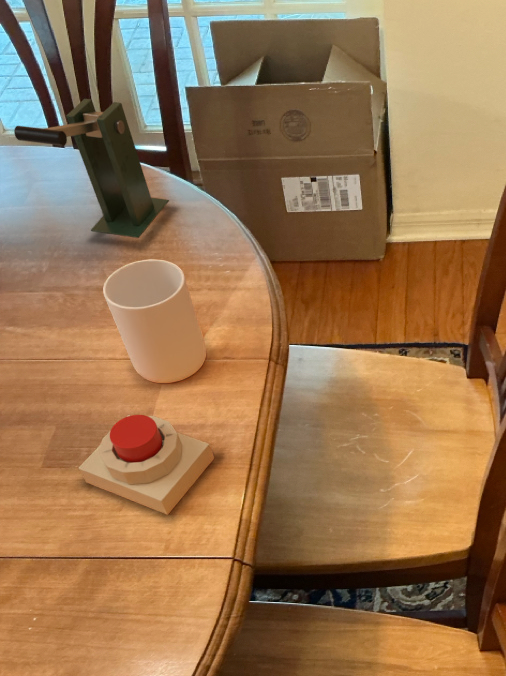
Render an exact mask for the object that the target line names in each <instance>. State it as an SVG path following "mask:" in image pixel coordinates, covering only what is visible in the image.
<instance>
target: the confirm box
mask: <svg viewBox="0 0 506 676" xmlns="http://www.w3.org/2000/svg"><path fill="white" fill-rule="evenodd" d="M128 416H131V414H128V415H127V416H126V417H128ZM147 416H148V417H150V418H152V419H153V420H154V421H155V423H156V425H157V427H158V430H159V432H160V435H161V437H162V441H163V442H162V447H161V449H160V451H159V452H158V453H157V454H156V455H155V456H154V457H152V458H150V459H147V460H145V461H143V462H134V463H131V462H127V461H124V460H122V459H121V458H120V457H119V456H118V454H117V452H116V450H115V448H114V446H113V444H112V442H111V440H110V431H111V429H110V430H108V432H107V433H106V434H105V435H104V436H103V438H101V442H100V444H99V445H98V446H97V448H96V449H94V451H92V453H91V454H90V455H89V456H88V457H87V458H86V459H85V460H84V461H83V462H82V463H81V464H80V466H78V470H79V472H80V474H81V476H82V478H83V480H84V481H85V483H86V484H89V485H91V486H94V487H96V488H99V489H102V490H105V491H107V492H109V493H112V494H113V495H117V496H119V497H122V498H123V499H128V501H129V500H130V501H132V502H135V503H137V504H139V505H141V506H144V507H147V508H150V509H152V510H154V511H157V512H160V513H162V514H165V515H167V516H168V515H169V514H170V513H171V512H172V511H173V510H174V508H175V507H176V506H177V505H178V503H179V502H180V501H181V500H182V499H183V497H184V496H185V495H186V493H187V492H188V491H190V489H191V488H192V486H193V485H194V484H195V483H196V481H197V480H198V479H199V478H200V477H201V475H202V474H203V473H204V472H205V470H206V469H207V468H208V467H209V465H210V464H212V462H213V461H214V460H215V456H214V453H213V451H212V448H211V445H210V443H209V442H206V441H202V440H200V439H198V438H195V437H192V436H189V435H187V434H183V433H181V432H178V431H177V430H176V429H175V427H174V426H173V425H172V423H171V421H168V420H166V419H164V418H161V417H158V416H155V415H147Z"/></svg>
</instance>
